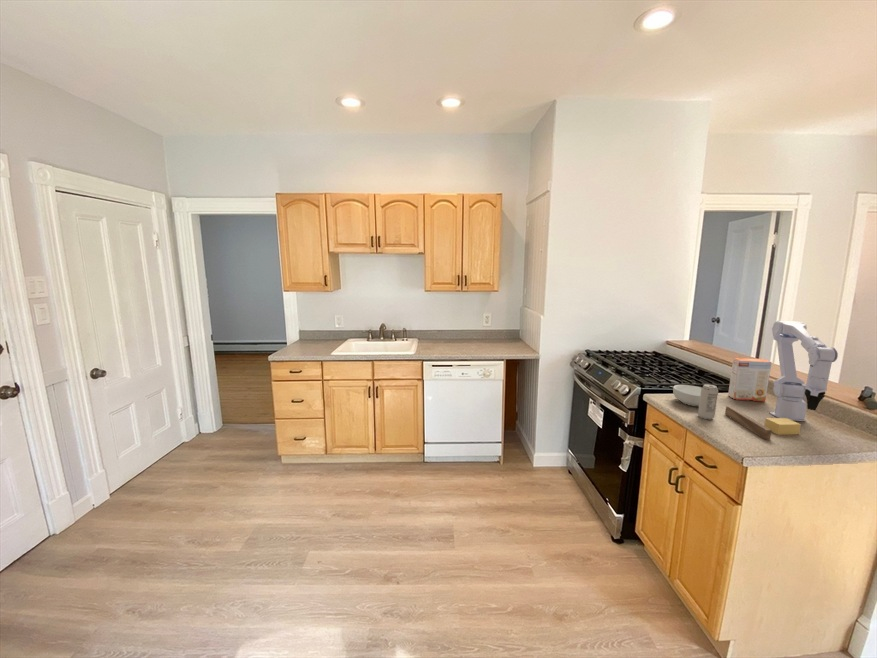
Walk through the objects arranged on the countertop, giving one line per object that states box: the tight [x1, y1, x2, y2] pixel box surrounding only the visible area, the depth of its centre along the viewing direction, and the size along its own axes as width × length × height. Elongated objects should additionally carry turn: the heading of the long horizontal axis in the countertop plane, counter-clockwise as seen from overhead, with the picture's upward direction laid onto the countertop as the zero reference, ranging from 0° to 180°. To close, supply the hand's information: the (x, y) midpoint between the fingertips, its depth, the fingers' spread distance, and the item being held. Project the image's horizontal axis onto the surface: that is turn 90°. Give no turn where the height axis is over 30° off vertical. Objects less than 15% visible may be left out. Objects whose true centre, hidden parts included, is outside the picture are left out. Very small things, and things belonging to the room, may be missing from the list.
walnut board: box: [724, 405, 773, 440], centre depth 153 cm, size 2×24×4 cm, turn 173°
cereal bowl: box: [672, 384, 702, 407], centre depth 177 cm, size 17×17×7 cm
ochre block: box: [763, 417, 802, 435], centre depth 149 cm, size 9×6×4 cm, turn 92°
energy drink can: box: [697, 383, 719, 420], centre depth 160 cm, size 6×6×15 cm
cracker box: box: [727, 357, 772, 402], centre depth 182 cm, size 14×6×21 cm, turn 77°
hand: (811, 408), depth 146 cm, fingers open, 3 cm apart
